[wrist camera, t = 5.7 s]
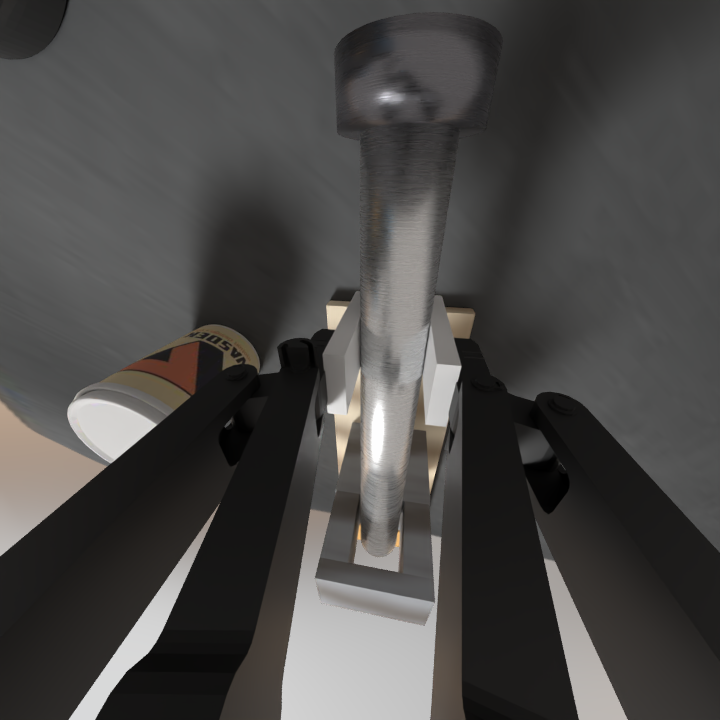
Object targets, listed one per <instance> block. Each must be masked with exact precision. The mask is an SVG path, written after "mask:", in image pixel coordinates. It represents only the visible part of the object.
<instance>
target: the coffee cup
mask: <svg viewBox="0 0 720 720" xmlns="http://www.w3.org/2000/svg"><path fill="white" fill-rule="evenodd" d="M238 364H250V365H253V366H255V367H256V368H257V370H258V373H259V369H260V361H259V357H258V354H257V352H256V350H255V349H254V347H253V346H252V344H251V343H250V342H249V341H248V340H247V339H246V338H245V337H244V336H243V335H241V334H240V333H238V332H237V331H235V330H233V329H231V328H229V327H226V326H222V325H216V324H212V325H206V326H203V327H200V328H198V329H196V330H194V331H192V332H190V333H188V334H187V335H185V336H183V337H181V338H179V339H177V340H175V341H174V342H172V343H170V344H168V345H166V346H164V347H162V348H160V349H159V350H157V351H155V352H153V353H151V354H149V355H148V356H146V357H144V358H142V359H140V360H138V361H137V362H135V363H133V364H131V365H129V366H127V367H126V368H124V369H122V370H120V371H118V372H117V373H115V374H113V375H111V376H109V377H108V378H106V379H104V380H103V381H101V382H99V383H95V384H92V385H90V386H88V387H86V388H84V389H82V390H81V391H80V392H78V393H77V395H76V396H75V398H74V400H73V401H72V403H71V404H70V406H69V408H68V419H69V422H70V425H71V427H72V428H73V430H74V431H75V433H76V434H77V436H78V437H79V438H80V439H81V440H82V441H83V442H84V443H85V444H86V445H87V446H88V447H89V448H90V449H91V450H93V451H94V452H95V453H96V454H98V455H99V456H100V457H102V458H103V459H105V460H106V461H108V462H110V463H112V462H114V461H115V460H116V459H117V458H118V457H119V456H121V455H122V454H123V453H124V452H125V451H127V450H128V449H129V448H130V447H131V446H133V445H134V444H135V443H136V442H137V441H139V440H140V439H141V438H142V437H143V436H145V435H146V434H147V433H148V432H149V431H150V430H152V429H153V428H154V427H155V426H156V425H158V424H159V423H160V422H161V421H162V420H164V419H165V418H166V417H167V416H168V415H170V414H171V413H172V412H173V411H174V410H176V409H177V408H178V407H179V406H180V405H181V404H183V403H184V402H185V401H186V400H187V399H189V398H190V397H191V396H192V395H193V394H195V393H196V392H197V391H198V390H199V389H201V388H202V387H203V386H204V385H205V384H206V383H208V382H209V381H210V380H211V379H212V378H214V377H215V376H216V375H217V374H218V373H220V372H221V371H223V370H224V369H226V368H228V367H231V366H233V365H238Z"/></svg>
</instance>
